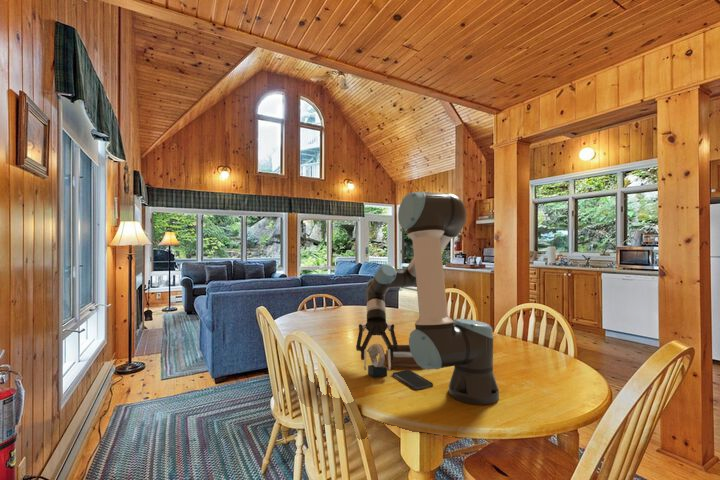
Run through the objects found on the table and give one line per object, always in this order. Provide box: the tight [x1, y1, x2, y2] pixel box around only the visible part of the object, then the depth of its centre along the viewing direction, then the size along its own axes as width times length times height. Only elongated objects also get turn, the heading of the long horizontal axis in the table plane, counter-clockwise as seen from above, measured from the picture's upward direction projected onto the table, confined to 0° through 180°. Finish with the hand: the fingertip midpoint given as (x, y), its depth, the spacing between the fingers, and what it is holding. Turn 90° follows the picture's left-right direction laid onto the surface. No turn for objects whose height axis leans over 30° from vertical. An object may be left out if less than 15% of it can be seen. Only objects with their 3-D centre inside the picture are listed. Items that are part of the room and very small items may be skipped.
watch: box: [366, 343, 388, 379], centre depth 130 cm, size 6×8×11 cm
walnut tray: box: [385, 344, 422, 369], centre depth 146 cm, size 17×15×4 cm
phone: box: [392, 369, 434, 391], centre depth 125 cm, size 8×1×15 cm
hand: (377, 368), depth 127 cm, fingers open, 8 cm apart
